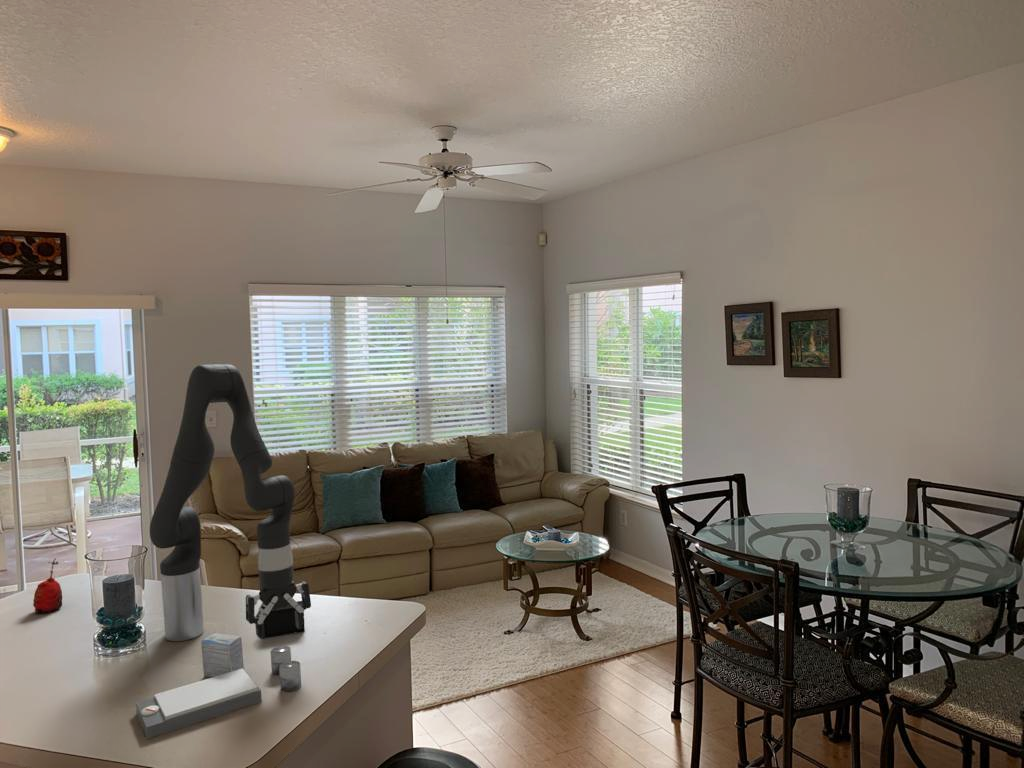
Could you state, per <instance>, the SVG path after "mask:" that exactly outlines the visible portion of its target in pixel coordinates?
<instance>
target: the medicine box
mask: <svg viewBox="0 0 1024 768" xmlns="http://www.w3.org/2000/svg"><path fill="white" fill-rule="evenodd" d="M242 642H243V641H242V636H240V635H233V634H225V633H216V632H215V633H212V634H210V635H208V636H207V637H205V638H204V639H202V640H201V644H200V645H201V655H202V669H203V670H202V671H203V676H204V677H209V678H212V677H215V676H219V675H222V674H225V673H229V672H232V671H235V670H239V669H242V668H243V669H244V670H245V666H244V655H243V643H242Z"/></svg>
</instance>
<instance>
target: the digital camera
mask: <svg viewBox="0 0 1024 768" xmlns="http://www.w3.org/2000/svg"><path fill="white" fill-rule="evenodd" d="M296 602H297V603H298V604H299V605H300V604H301V603H302V600H298V601H296ZM295 611H296V609H295V608H294V607H292V606H291V605H290V604H289V605H287V607H284V608H279V609H277V610H271V611H270V613H269V614H268V615H267V616H266V618H265V619H264V621H263V623H264V631H265V639H267V638H268V639H269V638H274V637H280V636H287V635H292V634H299V633H304V632H306V631H305V622H304V625H303V626H302V628H301V629H298V628H297V627H296V622H295ZM303 615H304V616H305V612H303Z"/></svg>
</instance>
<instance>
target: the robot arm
mask: <svg viewBox="0 0 1024 768" xmlns="http://www.w3.org/2000/svg"><path fill="white" fill-rule="evenodd" d="M214 403H215V404H216V403H227V405H228V406H229V408H230V409H231V411H232V414H233V421H232V427H231V433H230V439H229V441H230V448H231V451H232V453H233V456H234V457H235V460H236V461H237V464H238V466H239V469H240V471H241V474H242V475H241V477H242V481H243V487H244V496H245V501H246V503H247V505H248V506H249V508H251V509H252V510H253V511H255V512H265V511H269V510H271V513H270V514H269V515H268V516H267V517H265V518H264V519H261V520H260V521H259V522H258V523H257V526H256V537H257V565H258V580H259V581H258V582H259V593H258V594H253V595H252V594H247V595H246V596H245V621H247V622H248V623H249V624H250V625H252V624H255V635H256V637H257V638H258V639H260V640H261V641H263V640H265V639H266V638H265V631H264V623H263V621H264V619H265V618H266V616H267V615H268V614H269V613H270V611H271V610H277V609H279V608H284V607H287V605H289V604H290V605H291V606H292V607H294V608H295V609H296V611H295V622H296V627H297V628H298V629H301V628H302V626H303V625H304V623H305V614H304V615H303V612H304V611H306V610H307V609H310V608H311V607H312V602H311V594H310V586H309V584H308V583H307V582H306V581H304V580H301V581H300V582H299V583H297V584H295V575H294V574H295V572H294V557H293V550H292V545H291V544H292V543H291V535H290V522H291V519H292V512H293V507H294V502H295V498H296V493H295V492H296V491H295V490H296V489H295V486H294V484H293V481H292V479H290V478H289V477H288V476H286V475H275V476H272V477H267V478H266V477H265V478H262V477H261V475H263V474H265V473H266V472H268V471H269V470H270V469H271V468H272V466H273V459H272V457H271V455H270V452H269V451H268V448H267V446H266V444H265V442H264V440H263V438H262V436H261V434H260V431H259V428H258V426H257V423H256V420H255V415H254V413H253V408H252V405H251V401H250V398H249V395H248V392H247V388H246V385H245V382H244V378H243V377H242V374H241V373H240V371H239V369H238V368H237V367H236V366H234V365H233V364H225V363H224V364H222V363H220V364H219V363H218V364H217V363H216V364H215V363H214V364H200V365H199V364H198V365H197V366H195V367H194V368H193V369H192V371H191V372H190V375H189V378H188V382H187V388H186V394H185V400H184V407H183V413H182V419H181V423H180V427H179V432H178V435H177V438H176V441H175V445H174V447H173V450H172V456H171V458H170V462H169V469H168V471H167V475H166V478H165V482H164V486H163V488H162V490H161V491H162V492H161V494H160V497H159V500H158V502H157V504H156V507H155V509H154V512H153V514H152V517H151V520H150V523H149V524H150V525H149V538H150V541H151V543H152V544H153V546H154V547H155V548H158V549H162V550H163V549H169V548H173V547H174V548H173V549H172V551H171V552H170V553H169V554H168V555H167V556H166V557H165V558H163V559H161V561H160V565H159V571H160V582H161V597H162V611H163V621H164V622H163V623H164V635H165V637H164V638H165V639H166V640H167V641H170V642H182V641H187V640H191V639H194V638H195V639H196V638H197V637H199V636H200V635H202V634H203V633H204V632H205V629H204V628H205V627H204V612H203V611H204V610H203V595H202V585H201V584H202V583H201V580H202V579H201V570H200V561H201V558H202V557H201V556H202V528H201V527H202V526H201V520H200V517H199V513H197V511H196V509H194V508H193V507H191V506H185V504H186V503H187V501H188V499H190V497H191V496H192V495H193V494H194V492H195V491H196V490H197V489H198V488H199V487H200V486H201V485H202V483H203V482H204V481H205V479H206V478H207V477H208V475H209V472H210V469H211V466H212V463H213V460H214V456H215V444H214V441H213V438H212V436H211V434H210V432H209V429H208V427H207V424H206V415H207V410H208V408H209V406H210V404H214ZM297 591H298V592H299V593H300V596H301V601H302V603H301V604H300V605H299V604H298V603H297V601H296V600H295V599H294V596H295V595H296V593H297ZM259 600H260V601H261V604H260V606H259V607H258V611H257V613H256V614H255V606H256V605H257V603H258V601H259ZM304 613H305V612H304ZM304 626H305V625H304Z"/></svg>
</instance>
